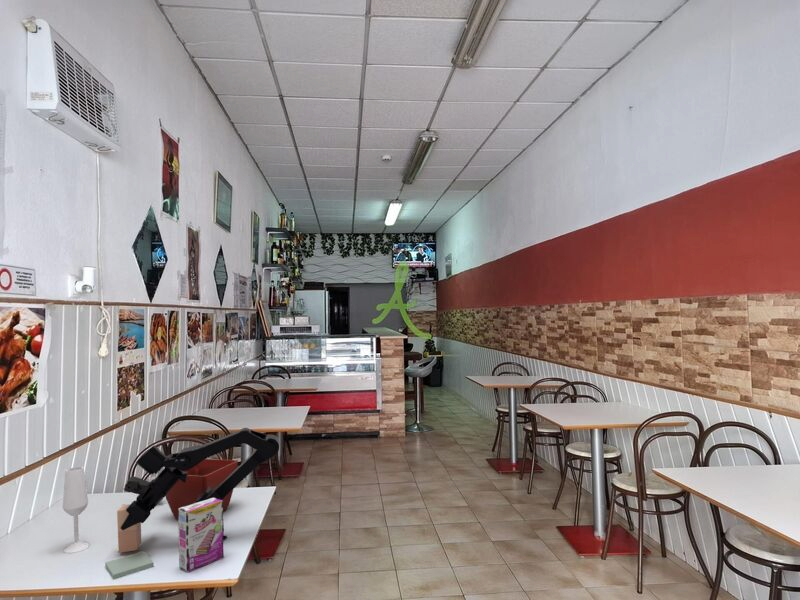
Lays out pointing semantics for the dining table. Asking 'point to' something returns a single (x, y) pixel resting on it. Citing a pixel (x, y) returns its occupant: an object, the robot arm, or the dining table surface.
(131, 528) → the peach rectangular block
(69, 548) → the champagne flute
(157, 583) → the dining table surface
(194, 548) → the candy bar box
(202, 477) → the plant pot
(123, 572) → the base plate
